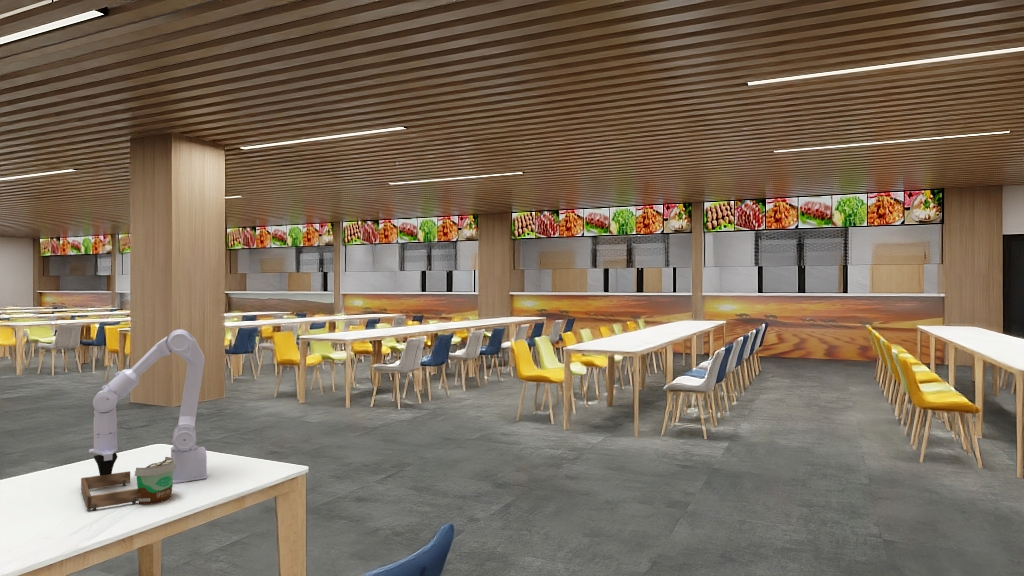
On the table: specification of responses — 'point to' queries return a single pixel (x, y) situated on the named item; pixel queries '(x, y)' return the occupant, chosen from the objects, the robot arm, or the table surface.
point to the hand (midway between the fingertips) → (105, 480)
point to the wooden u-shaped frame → (107, 498)
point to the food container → (155, 482)
